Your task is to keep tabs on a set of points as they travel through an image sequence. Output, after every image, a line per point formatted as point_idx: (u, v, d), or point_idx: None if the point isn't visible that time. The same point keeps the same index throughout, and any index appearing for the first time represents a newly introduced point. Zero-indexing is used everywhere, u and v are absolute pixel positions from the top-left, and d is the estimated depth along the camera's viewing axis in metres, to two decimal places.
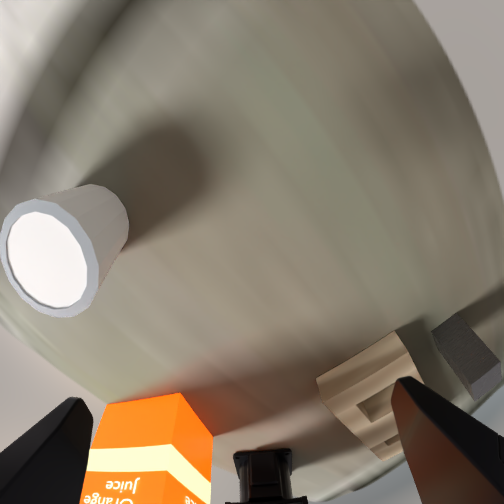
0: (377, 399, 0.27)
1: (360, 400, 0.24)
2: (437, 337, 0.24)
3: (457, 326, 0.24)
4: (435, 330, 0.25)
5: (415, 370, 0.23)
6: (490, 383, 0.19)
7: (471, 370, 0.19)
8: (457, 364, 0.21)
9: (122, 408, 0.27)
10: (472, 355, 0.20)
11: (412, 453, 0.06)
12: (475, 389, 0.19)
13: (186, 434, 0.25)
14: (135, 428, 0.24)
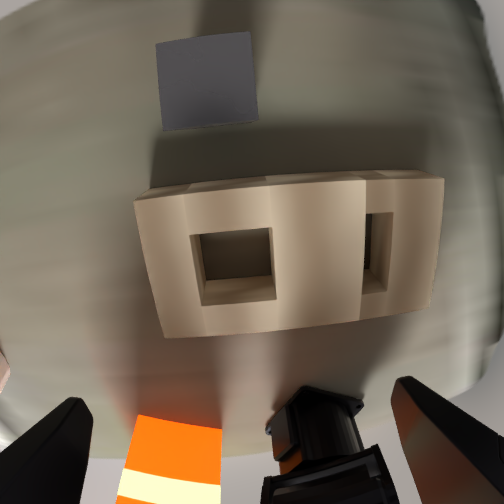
0: (271, 258, 0.19)
1: (195, 297, 0.17)
2: None
3: None
4: None
5: (188, 196, 0.15)
6: (222, 69, 0.09)
7: None
8: None
9: None
10: None
11: (412, 453, 0.06)
12: (198, 117, 0.09)
13: (155, 449, 0.22)
14: None
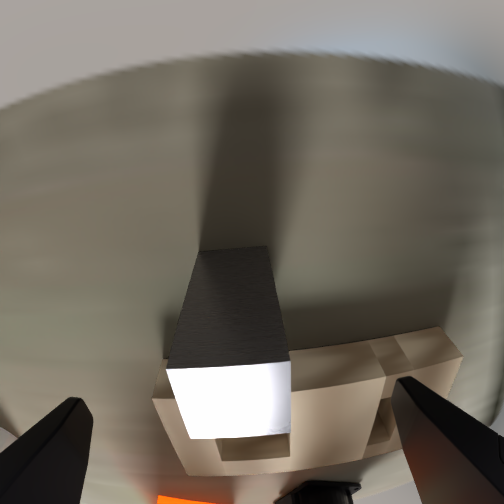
0: None
1: (216, 456, 0.16)
2: None
3: None
4: None
5: None
6: (253, 399, 0.08)
7: None
8: None
9: None
10: None
11: (412, 453, 0.06)
12: (227, 432, 0.08)
13: None
14: None
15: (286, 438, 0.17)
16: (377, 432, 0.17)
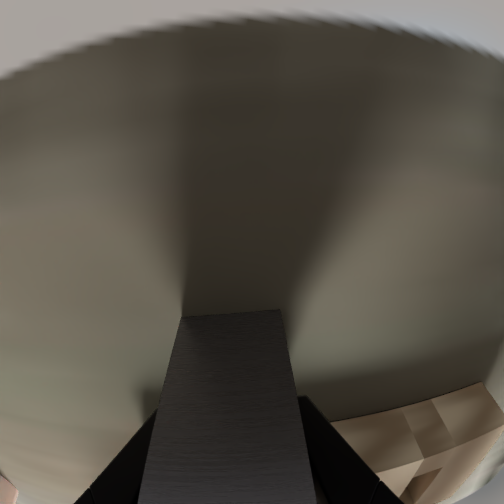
0: None
1: None
2: None
3: None
4: None
5: None
6: None
7: None
8: None
9: None
10: None
11: None
12: None
13: None
14: None
15: None
16: (400, 496, 0.12)
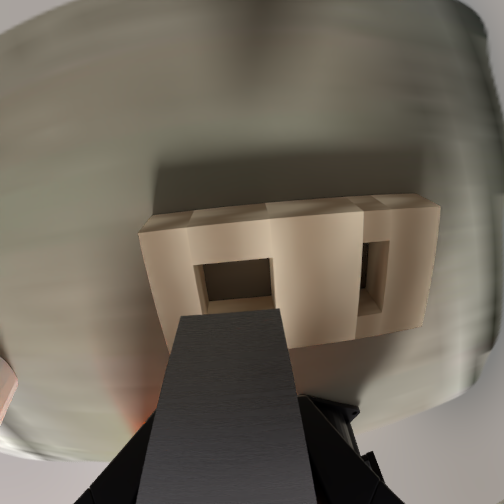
0: (271, 281, 0.19)
1: None
2: None
3: None
4: None
5: (191, 229, 0.15)
6: None
7: None
8: None
9: None
10: None
11: None
12: None
13: None
14: None
15: (273, 308, 0.19)
16: (368, 306, 0.19)
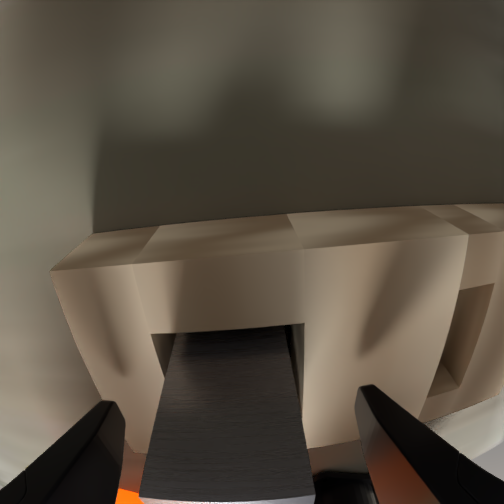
0: (293, 346, 0.11)
1: None
2: None
3: None
4: None
5: (142, 269, 0.07)
6: None
7: None
8: None
9: None
10: None
11: (372, 464, 0.06)
12: None
13: None
14: None
15: None
16: (438, 377, 0.10)
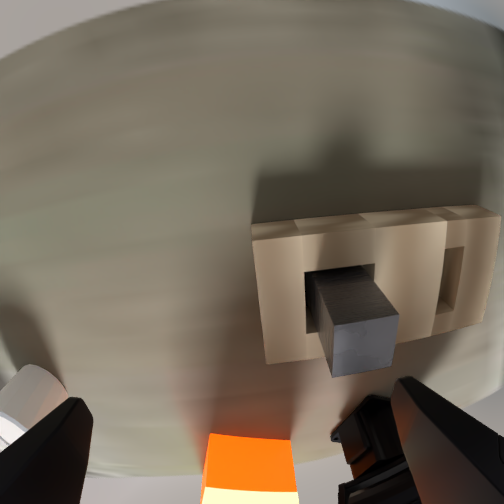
0: None
1: (301, 326, 0.18)
2: (309, 306, 0.20)
3: (309, 279, 0.19)
4: (306, 296, 0.21)
5: (306, 237, 0.16)
6: (376, 341, 0.13)
7: (327, 351, 0.15)
8: (322, 344, 0.16)
9: None
10: (322, 324, 0.15)
11: (412, 453, 0.06)
12: (356, 369, 0.14)
13: (232, 465, 0.23)
14: (203, 484, 0.24)
15: None
16: (440, 306, 0.19)
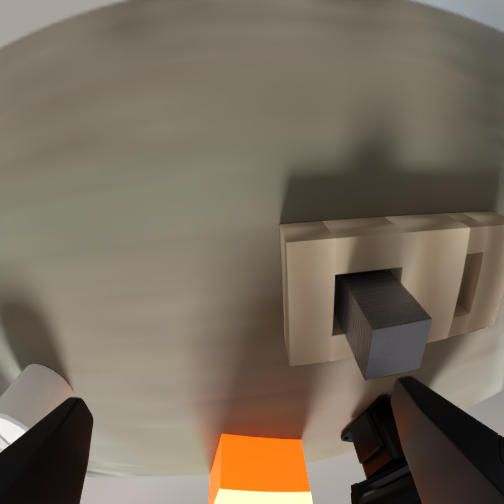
0: None
1: (328, 328, 0.18)
2: None
3: (336, 282, 0.18)
4: None
5: (340, 240, 0.16)
6: (409, 345, 0.13)
7: (359, 354, 0.14)
8: (350, 346, 0.16)
9: (212, 471, 0.27)
10: (354, 327, 0.15)
11: (412, 453, 0.06)
12: (387, 371, 0.14)
13: (245, 466, 0.23)
14: (214, 484, 0.24)
15: None
16: (457, 309, 0.19)
